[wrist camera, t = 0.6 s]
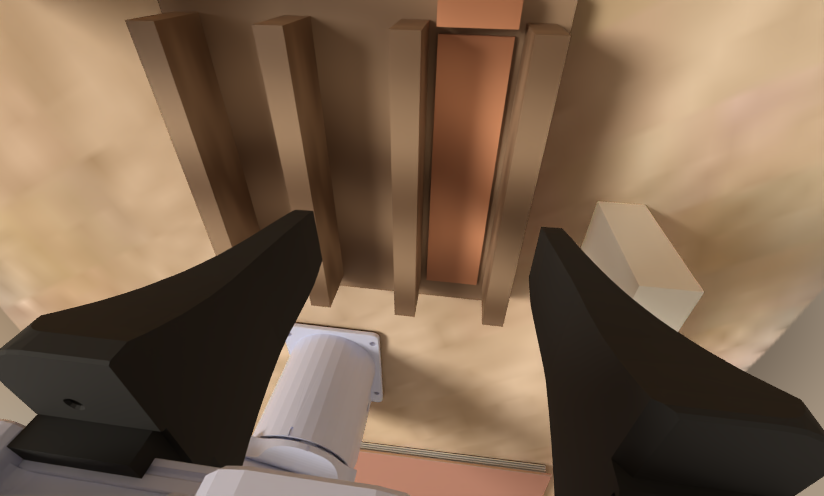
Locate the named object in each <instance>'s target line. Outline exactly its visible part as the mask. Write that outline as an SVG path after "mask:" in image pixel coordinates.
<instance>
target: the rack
mask: <svg viewBox="0 0 824 496" xmlns="http://www.w3.org/2000/svg"><path fill="white" fill-rule="evenodd" d="M577 2H578V0H158V3H159V6H160V9H161V12H162V14H157V15H151V16H146V17H140V18H135V19H129V20H125V22H126V24H127V27H128V29H129V32H130V35H131V37H132V40H133V42H134V45H135V47H136V50H137V53H138V55H139V58H140V60H141V63H142V66H143V68H144V71H145V73H146V76H147V78H148V81H149V84H150V86H151V89H152V91H153V94H154V97H155V99H156V102H157V104H158V107H159V110H160V112H161V115H162V117H163V120H164V122H165V125H166V128H167V130H168V133H169V135H170V138H171V141H172V143H173V146H174V148H175V151H176V154H177V156H178V159H179V161H180V164H181V166H182V169H183V172H184V174H185V177H186V179H187V182H188V185H189V187H190V190H191V192H192V195H193V197H194V200H195V203H196V205H197V208H198V210H199V213H200V216H201V218H202V221H203V223H204V226H205V229H206V231H207V234H208V236H209V239H210V241H211V244H212V247H213V249H214V252H215V254H216V256H217V255H219V254H221V253H223V252H224V251H226V250H228V249H230V248H231V247H233V246H235V245H237V244H239V243H240V242H242V241H244V240H246V239H247V238H249V237H251V236H252V235H254V234H255V233H257V232H259V231H260V230H262V229H263V228H265V227H267V226H268V225H270V224H271V223H273V222H275V221H276V220H278V219H280V218H281V217H283V216H285V215H286V214H288V213H290V212H292V211H294V210H309V211H313V212H314V217H315V222H316V228H317V233H318V238H319V244H320V249H321V254H322V263H321V267H320V270H319V273H318V276H317V278H316V281H315V284H314V286H313V289H312V291H311V293H310V295H309V296H310V301H311V305H313V306H322V307H331V305H332V302H333V300H334V297H335V295H336V293H337V290H338V288H339V286H340V285H341V286H350V287H360V288H369V289H379V290H388V291H394V304H395V315H403V316H412V317H415V311H416V306H417V300H418V294H426V295H435V296H445V297H454V298H464V299H473V300H482V324H483V325H492V326H501V327H503V324H504V319H505V315H506V311H507V307H508V302H509V298H510V294H511V290H512V285H513V281H514V277H515V273H516V268H517V264H518V260H519V256H520V251H521V247H522V243H523V239H524V234H525V230H526V226H527V222H528V217H529V213H530V209H531V205H532V200H533V196H534V192H535V187H536V183H537V179H538V175H539V170H540V166H541V162H542V158H543V153H544V149H545V145H546V141H547V136H548V132H549V128H550V124H551V119H552V115H553V111H554V107H555V102H556V98H557V94H558V90H559V85H560V81H561V77H562V73H563V68H564V64H565V60H566V56H567V51H568V47H569V43H570V39H571V35H570V32H571V27H572V23H573V19H574V14H575V10H576V6H577Z"/></svg>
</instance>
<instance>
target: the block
mask: <svg viewBox="0 0 824 496" xmlns="http://www.w3.org/2000/svg"><path fill="white" fill-rule="evenodd" d="M581 250H582V251H583V252H584V253H585V254H586V255H587V256H588V257H589V258H590V259H591V260H592V261H593V262H594V263H595V264H596V265H597V266H598V267H599V268H600V269H601V270H602V271H603V272H604V273H605V274H606V275H607V276H608V277H609V278H610V279H611V280H612V281H613V282H614V283H615V284H616V285H618V286H619V287H620V288H621V289H622V290H623V291H624V292H625V293H626V294H628V295H629V296H630V297H631V298H632V299H634V300H635V301H636V302H637V303H639V304H640V305H641V306H643V307H644V308H645V309H646V310H648V311H649V312H650V313H652V314H653V315H654V316H655V317H657V318H658V319H660V320H661V321H662V322H664V323H665V324H667V325H668V326H670V327H671V328H673V329H674V330H676V331H677V332H678V331H679V330H680V328H681V327H682V325H683V324H684V322H685V321H686V319H687V318H688V316H689V315H690V313H691V312H692V310H693V309H694V307H695V306H696V304H697V303H698V301H699V300H700V298H701V297H702V295H703V294H704V291H703V289H702V288H701V286H700V285H699V284H698V282H697V281H696V279H695V278H694V276H693V275H692V273H691V272H690V270H689V269H688V267H687V266H686V264H685V263H684V261H683V260H682V258H681V257H680V255H679V254H678V253H677V251H676V250H675V248H674V247H673V245H672V244H671V242H670V241H669V239H668V238H667V236H666V235H665V233H664V232H663V230H662V229H661V227H660V226H659V224H658V223H657V222H656V220H655V219H654V217H653V216H652V214H651V213H650V211H649V210H648V208H647V207H646V205H643V204H630V203H617V202H604V201H597V204H596V206H595V209H594V212H593V215H592V218H591V220H590V223H589V226H588V229H587V232H586V235H585V237H584V240H583V243H582V246H581Z"/></svg>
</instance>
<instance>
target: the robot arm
mask: <svg viewBox="0 0 824 496" xmlns="http://www.w3.org/2000/svg"><path fill="white" fill-rule="evenodd" d="M321 263H322V254H321V249H320V244H319V238H318V233H317V228H316V222H315V217H314V212H313V211H309V210H294V211H292V212H290V213H288V214H286V215H285V216H283V217H281V218H280V219H278V220H276V221H275V222H273V223H271V224H270V225H268V226H267V227H265V228H263V229H262V230H260V231H259V232H257V233H255V234H254V235H252V236H251V237H249V238H247V239H246V240H244V241H242V242H240V243H239V244H237V245H235V246H233V247H231V248H230V249H228V250H226V251H224V252H223V253H221V254H219V255H217V256H215V257H213V258H211V259H209V260H207V261H205V262H203V263H201V264H199V265H197V266H195V267H192V268H190V269H188V270H186V271H184V272H181V273H179V274H176V275H174V276H171V277H169V278H166V279H163V280H161V281H158V282H156V283H153V284H151V285H148V286H145V287H142V288H140V289H136V290H133V291H130V292H127V293H124V294H121V295H118V296H115V297H111V298H108V299H105V300H101V301H98V302H94V303H90V304H86V305H82V306H78V307H74V308H70V309H66V310H62V311H58V312H54V313H50V314H45V315H41V316H40V317H38V318H37V319H36V320H34V321H33V322H32V323H31V324H30V325H29V326H27V327H26V328H25V329H24V330H22V331H21V332H20V333H19V334H18V335H16V336H15V337H14V338H13V339H12V340H10V341H9V342H8V343H6V344H5V345H4V346H3V347H2V348H0V381H1V382H2V383H3V384H4V385H5V386H6V387H7V388H8V389H10V390H11V391H12V392H13V393H14V394H15V395H16V396H17V397H18V398H19V399H21V400H22V401H23V402H24V403H25V404H26V405H27V406H28V407H30V408H31V409H32V410H33V411H34V412H35V413H36V414H38V415H37V416H35V418H34V419H33V420H32V421H31V422H30V423H29V424H28V425H27V426H24V425H22V424H19V423H17V422H14V421H10V420H4V419H0V496H411V495H409V494H407V493H405V492H401V491H397V490H393V489H390V488H386V487H382V486H378V485H371V484H365V483H358V482H354V481H355V477H356V473H357V470H356V469H354V467H355V465H356V462H357V459H358V455H359V451H360V447H361V442H362V438H363V434H364V430H365V426H366V422H367V417H368V413H369V409H370V405H371V401H373V402H381V401H382V400H383V386H382V370H381V354H380V337H379V335H378V334H376V333H373V332H365V331H357V330H348V329H340V328H331V327H323V326H314V325H305V324H297V323H295V322H296V320H297V318H298V316H299V314H300V312H301V310H302V308H303V306H304V304H305V302H306V300H307V299H308V297H309V295H310V293H311V291H312V289H313V286H314V284H315V281H316V278H317V276H318V273H319V270H320V267H321ZM529 288H530V302H531V309H532V314H533V319H534V324H535V329H536V334H537V338H538V343H539V348H540V353H541V357H542V362H543V367H544V373H545V379H546V387H547V397H548V407H549V418H550V431H551V443H552V458H553V475H554V494H555V496H795V495H797V494H798V493H799V492H801V491H803V490H804V489H806V488H807V487H808V486H810V485H811V484H813V483H815V482H816V481H817V480H819V479H820V478H822V477H823V476H824V430H823V428H822V427H821V426H820V424H819V423H818V422H817V420H816V419H815V418H814V416H813V415H812V414H811V412H810V411H809V410H808V408H807V407H806V405H805V404H804V403H803V402H802V400H800V399H798V398H796V397H794V396H792V395H790V394H788V393H786V392H784V391H782V390H780V389H778V388H776V387H774V386H772V385H770V384H768V383H766V382H764V381H762V380H760V379H758V378H756V377H754V376H752V375H750V374H748V373H746V372H744V371H742V370H741V369H739V368H737V367H735V366H733V365H732V364H730V363H728V362H726V361H725V360H723V359H721V358H719V357H717V356H716V355H714V354H712V353H710V352H709V351H707V350H705V349H704V348H702V347H701V346H699V345H697V344H696V343H694V342H692V341H691V340H689V339H688V338H686V337H685V336H683V335H682V334H680V333H679V332H677V331H676V330H674V329H673V328H671V327H670V326H668V325H667V324H665V323H664V322H662V321H661V320H660V319H658V318H657V317H655V316H654V315H653V314H652V313H650V312H649V311H648V310H646V309H645V308H644V307H643V306H641V305H640V304H639V303H637V302H636V301H635V300H634V299H632V298H631V297H630V296H629V295H628V294H626V293H625V292H624V291H623V290H622V289H621V288H620V287H619V286H618V285H616V284H615V283H614V282H613V281H612V280H611V279H610V278H609V277H608V276H607V275H606V274H605V273H604V272H603V271H602V270H601V269H600V268H599V267H598V266H597V265H596V264H595V263H594V262H593V261H592V260H591V259H590V258H589V257H588V256H587V255H586V254H585V253H584V252H583V251H582V250H581V248H580V247H579V246H578V245H577V244H576V243H575V242H574V241H573V240H572V239H571V237H570V236H569V235H568V234H567V233H566V232H565V231H564V230H563V229H562V228H548V227H541V230H540V234H539V238H538V243H537V247H536V251H535V255H534V259H533V263H532V267H531V271H530V275H529ZM285 341H286V344H287V348H288V351H289V354H290V357H289V359H288V361H287V363H286V365H285V368H284V370H283V372H282V374H281V376H280V378H279V380H278V382H277V385H276V387H275V389H274V391H273V393H272V395H271V397H270V399H269V401H268V404H267V406H266V408H265V410H264V412H263V414H262V416H261V418H260V421H259V423H258V425H257V427H256V429H255V431H254V433H253V435H252V432H253V429H254V426H255V423H256V419H257V416H258V413H259V410H260V407H261V404H262V401H263V398H264V395H265V393H266V390H267V387H268V384H269V381H270V378H271V376H272V373H273V371H274V368H275V365H276V363H277V360H278V358H279V355H280V352H281V350H282V348H283V346H284V344H285ZM251 435H252V436H251Z"/></svg>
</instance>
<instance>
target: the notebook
mask: <svg viewBox="0 0 824 496" xmlns="http://www.w3.org/2000/svg"><path fill="white" fill-rule="evenodd" d="M354 469H356V470H357V473H356V477H355V481H354V482H358V483H365V484H371V485H378V486H382V487H386V488H390V489H393V490H397V491H401V492H405V493H407V494H409V495H411V496H543V495H544V492H545V490H546V488H547V486H548V483H549V481H550V479H551V474H548V473H546V470H545V469H546V468H545V465H539V464H531V463H523V462H515V461H507V460H499V459H492V458H484V457H476V456H468V455H460V454H452V453H444V452H436V451H428V450H420V449H412V448H404V447H396V446H388V445H380V444H373V443H365V442H361V447H360V451H359V455H358V459H357V462H356V465H355V467H354Z"/></svg>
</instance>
